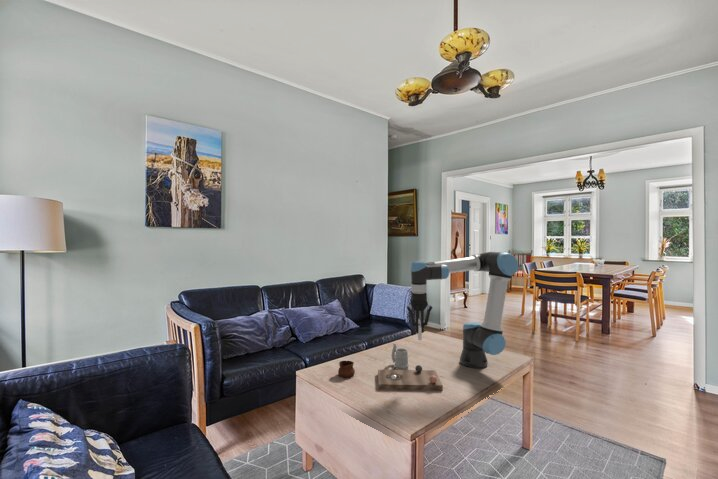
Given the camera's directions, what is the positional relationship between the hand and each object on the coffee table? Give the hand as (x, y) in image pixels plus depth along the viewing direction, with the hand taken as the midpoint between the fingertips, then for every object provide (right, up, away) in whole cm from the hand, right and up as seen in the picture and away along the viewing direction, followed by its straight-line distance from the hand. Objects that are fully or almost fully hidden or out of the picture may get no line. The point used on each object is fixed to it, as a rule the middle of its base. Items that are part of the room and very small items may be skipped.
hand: (419, 339), depth 172 cm
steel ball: (-13, -19, -1) cm, 23 cm away
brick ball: (+5, -17, -8) cm, 19 cm away
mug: (-8, -21, +19) cm, 29 cm away
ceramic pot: (-37, -21, +7) cm, 43 cm away
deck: (-6, -21, -2) cm, 22 cm away
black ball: (0, -17, +5) cm, 17 cm away
